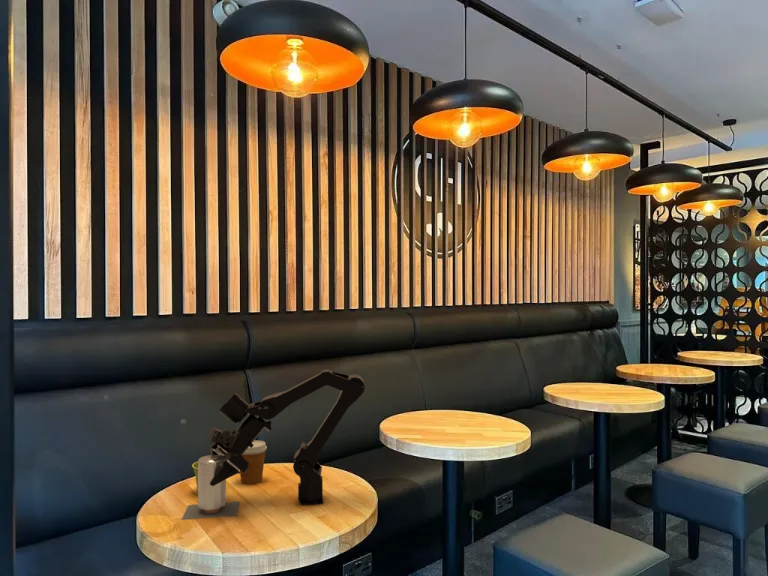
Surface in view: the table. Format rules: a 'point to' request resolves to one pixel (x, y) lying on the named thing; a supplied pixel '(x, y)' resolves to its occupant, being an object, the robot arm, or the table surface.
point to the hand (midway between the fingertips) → (207, 481)
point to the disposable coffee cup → (254, 463)
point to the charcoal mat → (198, 513)
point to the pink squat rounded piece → (211, 510)
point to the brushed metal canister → (209, 494)
